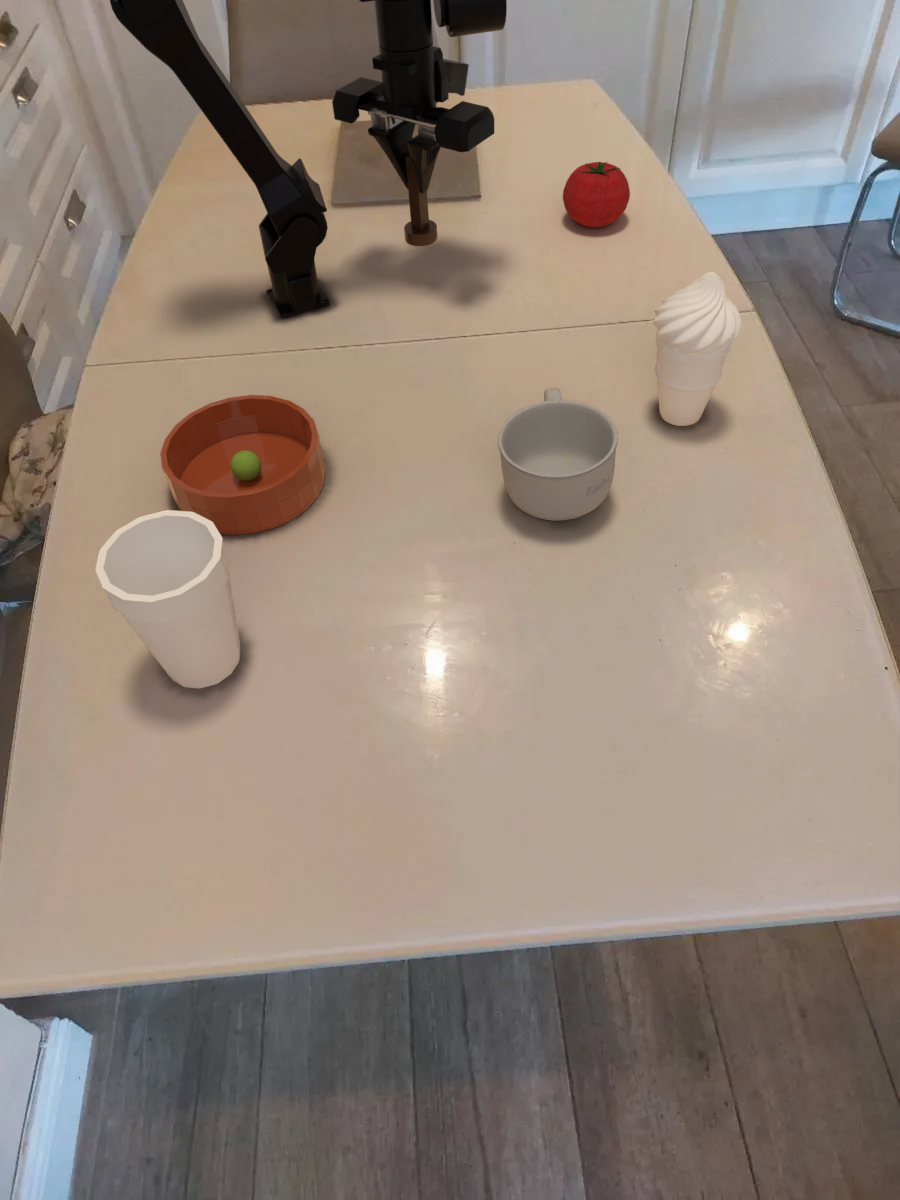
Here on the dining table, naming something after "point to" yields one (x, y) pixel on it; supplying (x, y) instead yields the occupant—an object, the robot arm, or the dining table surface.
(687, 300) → the ice cream cone
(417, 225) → the stir stick
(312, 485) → the bowl
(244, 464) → the grape
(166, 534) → the foam cup
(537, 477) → the teacup
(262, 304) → the dining table surface
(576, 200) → the tomato
